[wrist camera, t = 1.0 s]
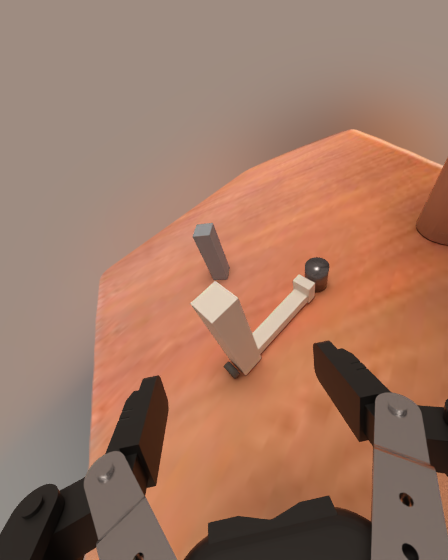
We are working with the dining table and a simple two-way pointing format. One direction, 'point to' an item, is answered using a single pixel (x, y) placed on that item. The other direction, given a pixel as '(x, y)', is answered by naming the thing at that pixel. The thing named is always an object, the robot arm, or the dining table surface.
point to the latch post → (211, 250)
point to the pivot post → (317, 272)
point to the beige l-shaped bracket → (235, 329)
